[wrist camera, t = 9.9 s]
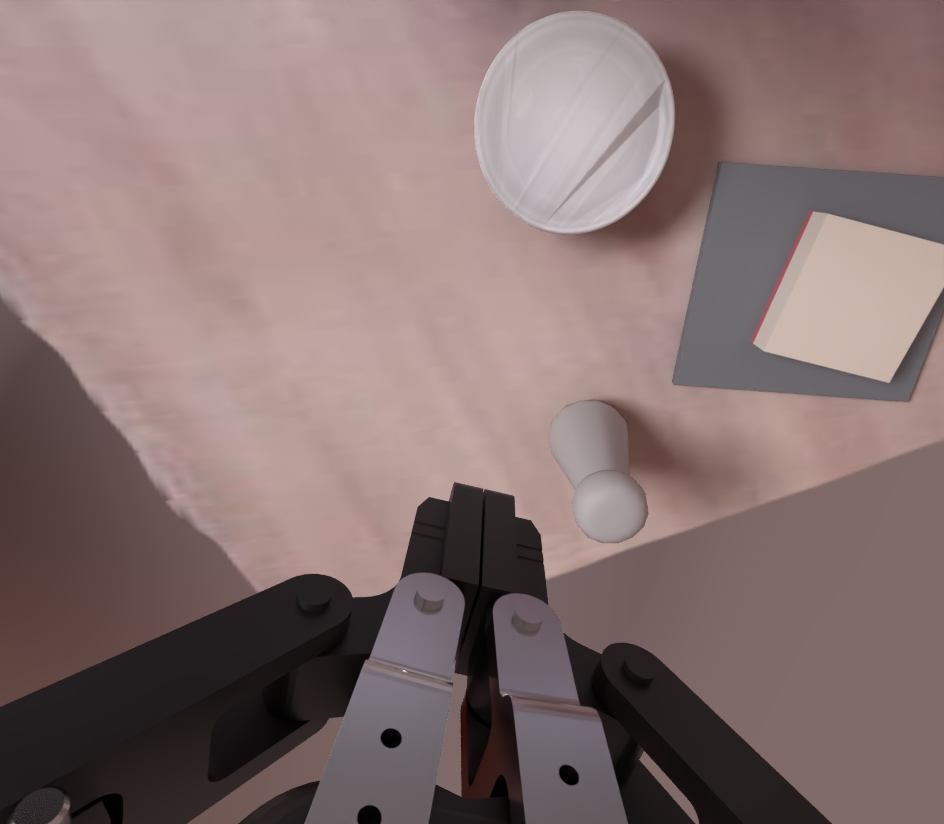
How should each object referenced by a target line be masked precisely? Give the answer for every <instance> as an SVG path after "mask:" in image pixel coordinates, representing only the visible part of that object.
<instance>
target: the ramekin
mask: <svg viewBox="0 0 944 824" xmlns="http://www.w3.org/2000/svg"><path fill="white" fill-rule="evenodd" d="M674 130H675V101H674V95H673V90H672V86H671V82H670V79H669V77H668V74H667V71H666V69H665V67H664V65H663V63H662V61H661V59H660V58H659V56H658V54H657V53H656V51H655V50H654V48H653V47H652V46H651V44H650V43H649V42H648V41H647V40H646V39H645V38H644V37H643V36H642V35H641V34H640V33H639V32H637V31H636V30H635V29H634V28H632V27H631V26H629V25H628V24H626V23H624V22H623V21H621V20H619V19H616V18H614V17H611V16H608V15H605V14H601V13H597V12H591V11H566V12H561V13H556V14H553V15H549V16H547V17H544V18H542V19H540V20H537V21H535V22H533V23H531V24H529V25H527V26H526V27H525V28H524V29H523V30H521V31H520V32H519V33H518V34H516V35H515V36H514V37H513V38H512V39H511V40H510V41H509V42H508V43H507V44H506V45H505V46H504V47H503V49H502V50H501V51H500V52H499V54H498V55H497V56H496V58H495V59H494V61H493V62H492V64H491V66H490V67H489V69H488V72H487V74H486V76H485V78H484V81H483V83H482V86H481V89H480V92H479V95H478V100H477V104H476V110H475V120H474V135H475V145H476V152H477V157H478V160H479V164H480V167H481V170H482V172H483V175H484V177H485V179H486V181H487V183H488V185H489V187H490V189H491V190H492V192H493V193H494V195H495V196H496V197H497V199H498V200H499V201H500V202H501V203H502V205H503V206H504V207H505V208H506V209H508V210H509V211H510V212H511V213H512V214H513V215H515V216H516V217H517V218H519V219H520V220H522V221H523V222H525V223H526V224H528V225H529V226H531V227H534V228H537V229H539V230H542V231H546V232H550V233H556V234H582V233H588V232H592V231H595V230H599V229H601V228H604V227H606V226H608V225H611V224H613V223H615V222H617V221H618V220H620V219H621V218H623V217H624V216H626V215H627V214H628V213H630V212H631V211H632V210H633V209H634V208H635V207H636V206H638V205H639V204H640V203H641V201H642V200H643V199H644V198H645V197H646V196H647V195H648V194H649V192H650V191H651V190H652V188H653V187H654V185H655V184H656V182H657V181H658V179H659V177H660V175H661V174H662V172H663V170H664V167H665V165H666V162H667V160H668V157H669V154H670V150H671V146H672V142H673V137H674Z"/></svg>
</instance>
